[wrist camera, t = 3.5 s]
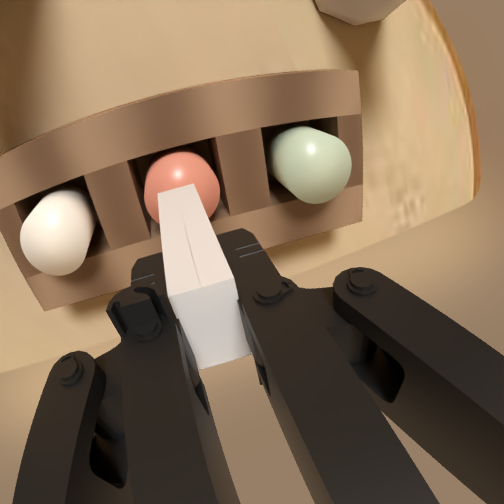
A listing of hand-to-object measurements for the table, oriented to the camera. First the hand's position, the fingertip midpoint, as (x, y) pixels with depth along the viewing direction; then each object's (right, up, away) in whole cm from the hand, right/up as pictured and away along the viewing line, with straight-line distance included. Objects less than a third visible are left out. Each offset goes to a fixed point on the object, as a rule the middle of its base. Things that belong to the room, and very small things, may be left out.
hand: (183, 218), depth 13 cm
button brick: (-2, +3, +5) cm, 6 cm away
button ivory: (-8, +1, +3) cm, 9 cm away
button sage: (+5, +5, +6) cm, 9 cm away
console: (-2, +4, +7) cm, 8 cm away
